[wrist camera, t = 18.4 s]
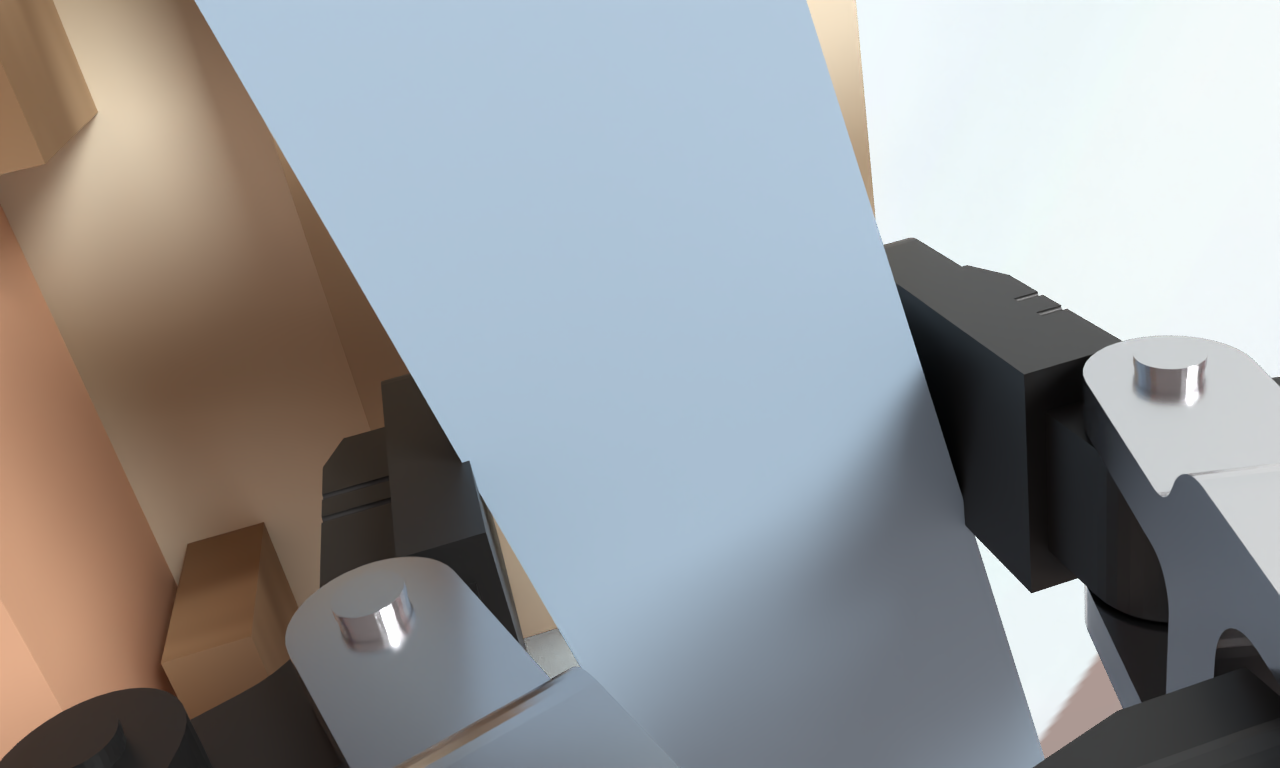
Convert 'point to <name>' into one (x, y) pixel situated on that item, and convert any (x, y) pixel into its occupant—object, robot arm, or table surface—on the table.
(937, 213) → the table surface
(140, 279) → the jig
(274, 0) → the light blue rectangular block
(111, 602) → the knobbed wooden block
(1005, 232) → the table surface
